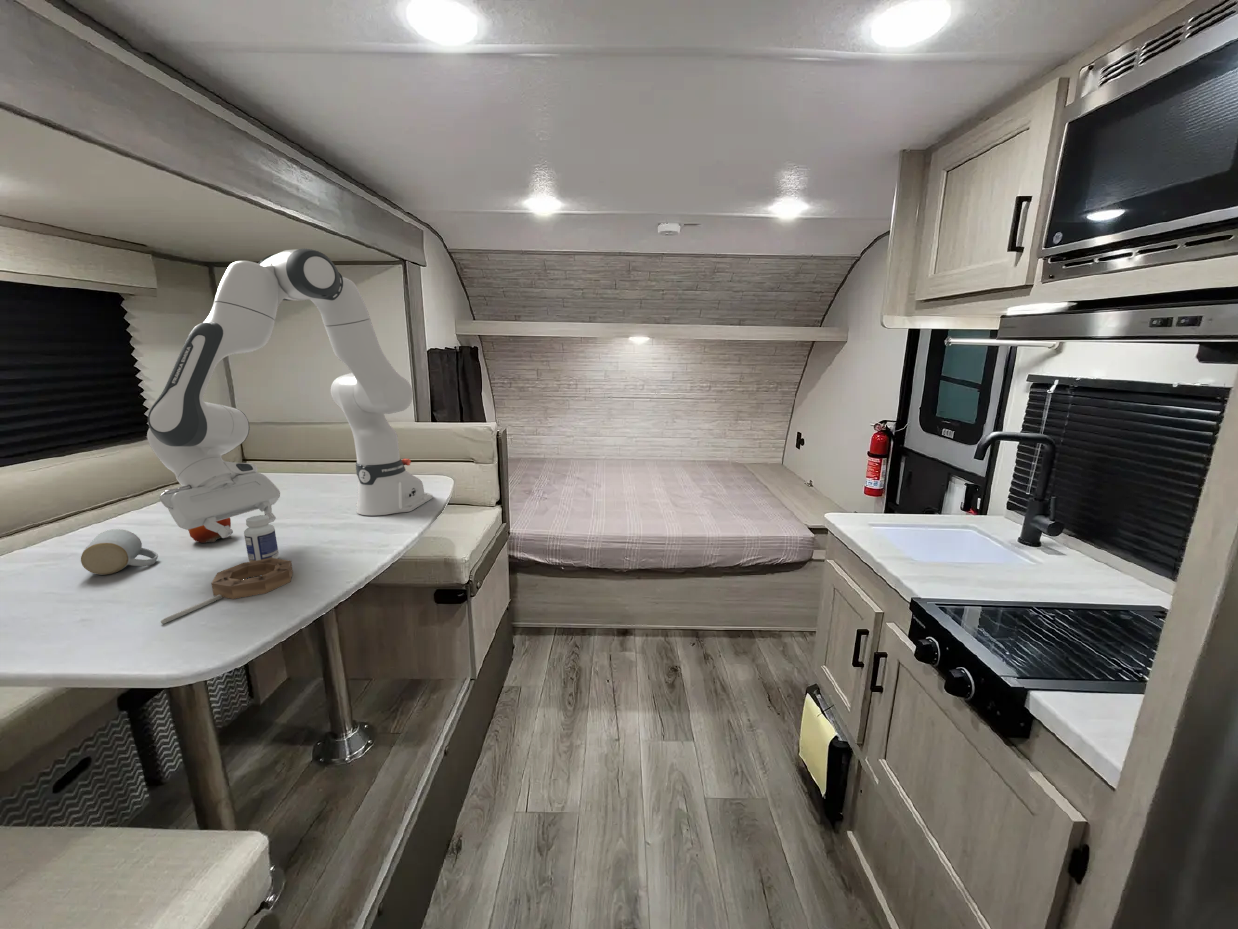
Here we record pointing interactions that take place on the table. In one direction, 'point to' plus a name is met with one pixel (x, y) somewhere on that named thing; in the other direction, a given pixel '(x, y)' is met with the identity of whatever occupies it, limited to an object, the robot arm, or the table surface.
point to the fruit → (207, 532)
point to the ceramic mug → (115, 552)
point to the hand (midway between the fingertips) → (251, 527)
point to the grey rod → (190, 609)
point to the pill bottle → (260, 539)
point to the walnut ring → (235, 587)
